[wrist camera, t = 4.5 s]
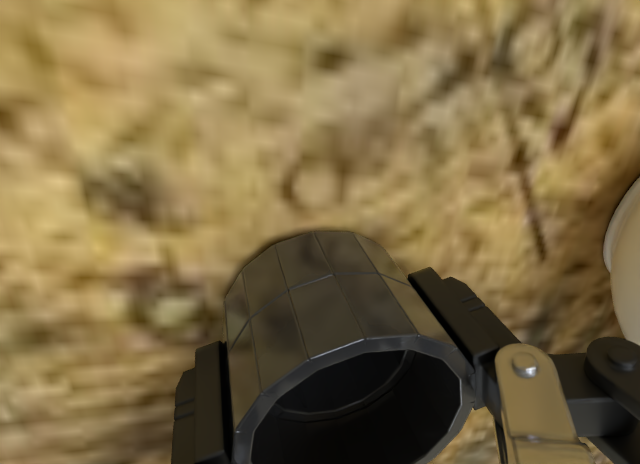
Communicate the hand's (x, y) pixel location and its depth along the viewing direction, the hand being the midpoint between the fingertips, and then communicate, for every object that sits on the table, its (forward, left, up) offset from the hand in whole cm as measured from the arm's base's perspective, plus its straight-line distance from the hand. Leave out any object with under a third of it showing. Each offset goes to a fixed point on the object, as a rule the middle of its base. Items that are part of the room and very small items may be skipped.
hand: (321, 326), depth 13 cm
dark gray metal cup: (0, 0, -1) cm, 1 cm away
